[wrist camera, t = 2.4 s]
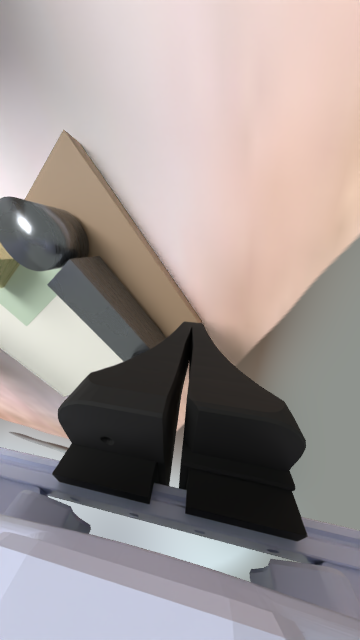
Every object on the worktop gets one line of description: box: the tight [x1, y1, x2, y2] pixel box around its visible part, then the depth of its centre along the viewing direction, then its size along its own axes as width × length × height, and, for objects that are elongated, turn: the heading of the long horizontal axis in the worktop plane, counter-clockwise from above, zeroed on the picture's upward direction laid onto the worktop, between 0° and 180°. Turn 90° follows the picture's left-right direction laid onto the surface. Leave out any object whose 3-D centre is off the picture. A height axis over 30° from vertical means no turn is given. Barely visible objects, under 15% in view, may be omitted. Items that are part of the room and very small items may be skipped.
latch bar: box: [0, 197, 166, 362], centre depth 9 cm, size 12×3×3 cm, turn 35°
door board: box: [0, 130, 202, 397], centre depth 13 cm, size 20×13×1 cm, turn 125°
